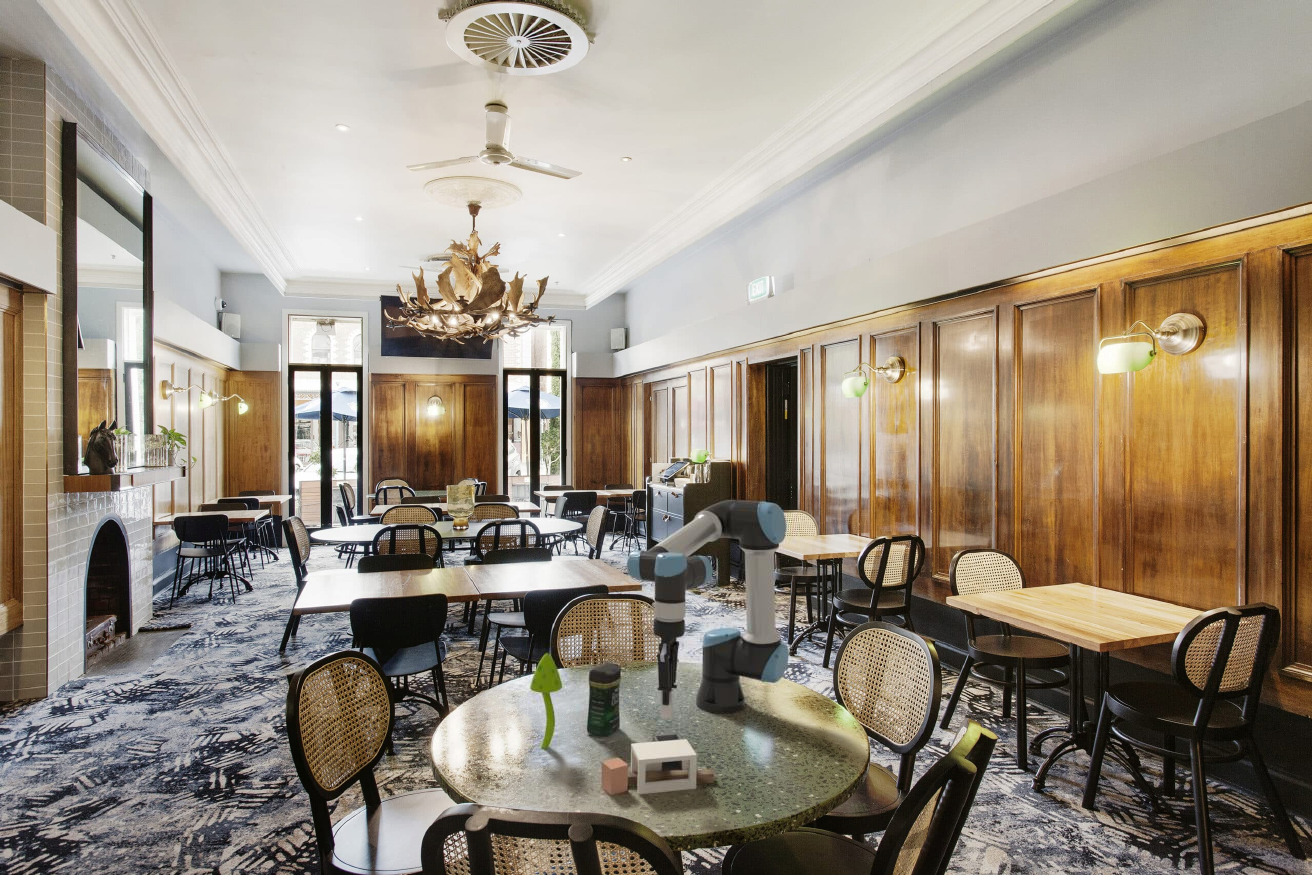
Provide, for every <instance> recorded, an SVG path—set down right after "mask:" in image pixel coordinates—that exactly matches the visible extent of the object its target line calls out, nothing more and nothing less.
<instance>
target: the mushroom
mask: <svg viewBox="0 0 1312 875" xmlns="http://www.w3.org/2000/svg"><path fill="white" fill-rule="evenodd" d="M555 663H556V662H555V660H553V657H552V656H551V655H550V654H549V653H548V652H546V653H545V654H544V655H543V656H542V657H541V659H540V661H539V662H538V664H537V667H536V668H535V671H534V673H533V677H532V680H531V682H530V685H529V687H530V688H529V689H530V690H531V691H532V692H535V693H541V695H542V698H543V702H544V708H545V715H546V725H545V731H544V736H543V739H542V740H543V741H542V744H541V749H545V750H546V749H548V748H549V746H550V744H551V741H552V738H553V737H554V736H553V735H554V734H555V733H554V732H555V729H556V728H555V727H556V726H555V725H556V717H555V710H554V705H553V701H552V697H551V694H550V693H554V692H557V691H560V690H561V689H563V684H562V679H561V676H560V672H559V671H558V667H557V665H556V664H555Z"/></svg>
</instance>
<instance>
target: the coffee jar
mask: <svg viewBox="0 0 1312 875" xmlns="http://www.w3.org/2000/svg"><path fill="white" fill-rule="evenodd" d="M621 669H622V668H621V667H620V666H619V664H618V663H613V662H608V661H606V662H605V663H602V664H600V665H597V666H595V667H593V668H592V669H589V672H588V687H589V690H588V691H589V694H588V696H589V697H588V707H587V708H588V711H587V721H586V731H587V733H588V734H589V735H591V736H593V737H597V738H600V737H603V738H604V737H605V738H607V737H610V736H612V735H613V734H615V733H616V732H617V731H618V730H620V726H621V724H620V723H621V722H620V721H621V719H620V687H621V686H620V685H621V681H622V674H621V673H622V672H621V671H622V670H621Z"/></svg>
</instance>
